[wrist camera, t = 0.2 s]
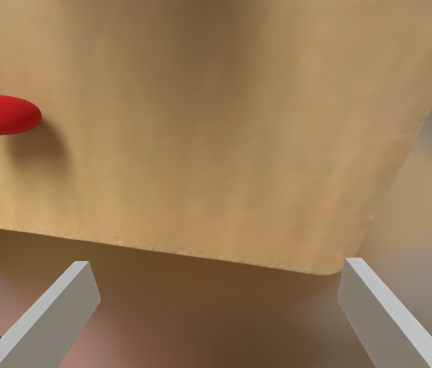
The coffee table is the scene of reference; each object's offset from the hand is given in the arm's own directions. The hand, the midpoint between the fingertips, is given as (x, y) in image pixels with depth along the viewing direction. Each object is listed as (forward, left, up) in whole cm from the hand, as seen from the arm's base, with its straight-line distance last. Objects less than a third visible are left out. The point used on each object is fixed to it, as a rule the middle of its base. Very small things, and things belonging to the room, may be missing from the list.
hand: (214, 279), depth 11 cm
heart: (-9, -32, -28) cm, 44 cm away
